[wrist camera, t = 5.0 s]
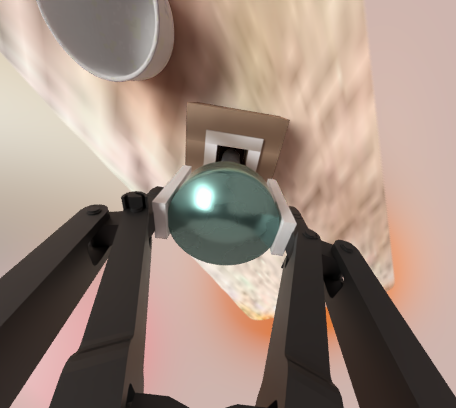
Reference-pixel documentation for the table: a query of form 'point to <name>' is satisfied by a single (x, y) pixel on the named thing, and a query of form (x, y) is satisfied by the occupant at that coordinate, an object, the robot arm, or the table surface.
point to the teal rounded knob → (224, 213)
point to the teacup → (113, 35)
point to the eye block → (233, 136)
